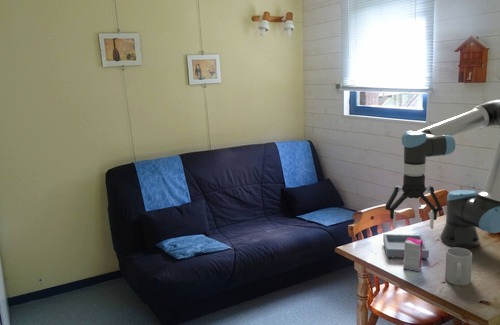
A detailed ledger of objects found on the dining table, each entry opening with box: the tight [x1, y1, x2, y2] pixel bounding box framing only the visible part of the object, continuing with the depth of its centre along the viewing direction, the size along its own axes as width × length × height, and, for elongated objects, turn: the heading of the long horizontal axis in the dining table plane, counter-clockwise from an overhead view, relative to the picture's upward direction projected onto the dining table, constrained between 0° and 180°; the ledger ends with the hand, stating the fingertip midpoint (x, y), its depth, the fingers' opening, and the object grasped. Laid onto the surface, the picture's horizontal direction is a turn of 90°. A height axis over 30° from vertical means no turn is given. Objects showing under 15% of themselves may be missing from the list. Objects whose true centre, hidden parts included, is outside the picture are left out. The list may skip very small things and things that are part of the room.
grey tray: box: [382, 233, 430, 262], centre depth 178 cm, size 16×16×5 cm
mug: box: [444, 246, 473, 286], centre depth 151 cm, size 12×8×11 cm
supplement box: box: [403, 238, 423, 273], centre depth 163 cm, size 6×6×12 cm
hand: (412, 227), depth 161 cm, fingers open, 13 cm apart
